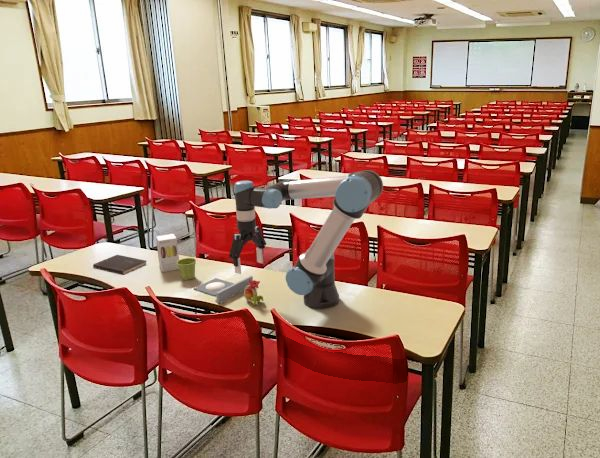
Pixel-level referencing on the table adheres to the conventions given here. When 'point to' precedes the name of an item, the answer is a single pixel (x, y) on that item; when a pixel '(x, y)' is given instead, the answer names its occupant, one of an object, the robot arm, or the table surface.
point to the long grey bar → (232, 290)
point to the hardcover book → (119, 264)
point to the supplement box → (167, 252)
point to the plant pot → (187, 268)
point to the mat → (213, 286)
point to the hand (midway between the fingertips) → (249, 267)
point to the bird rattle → (252, 292)
